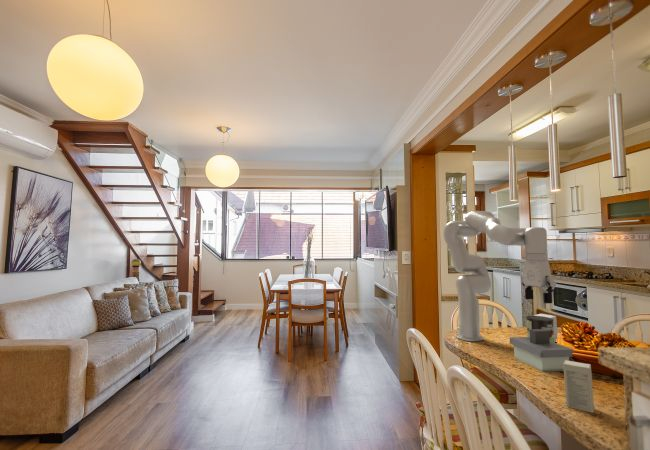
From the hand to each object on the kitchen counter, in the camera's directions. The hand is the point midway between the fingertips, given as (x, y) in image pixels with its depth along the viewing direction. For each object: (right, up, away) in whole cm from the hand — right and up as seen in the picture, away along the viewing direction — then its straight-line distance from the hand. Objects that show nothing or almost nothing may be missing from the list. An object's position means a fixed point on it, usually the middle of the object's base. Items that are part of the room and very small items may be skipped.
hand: (538, 301), depth 129 cm
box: (0, -24, -1) cm, 24 cm away
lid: (0, -19, -1) cm, 19 cm away
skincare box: (-12, -22, -36) cm, 44 cm away
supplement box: (+22, -27, +28) cm, 45 cm away
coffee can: (+12, -26, +16) cm, 32 cm away
